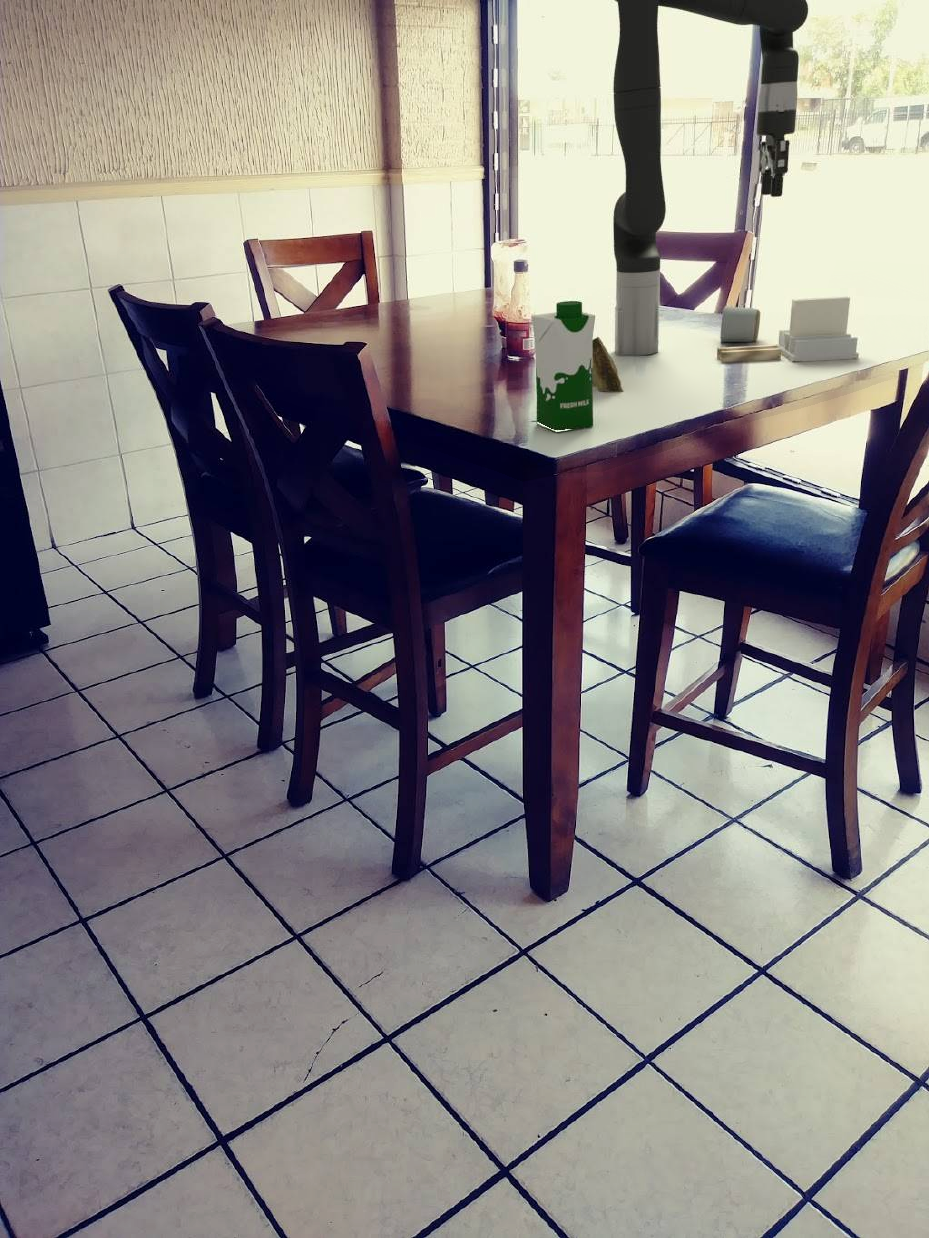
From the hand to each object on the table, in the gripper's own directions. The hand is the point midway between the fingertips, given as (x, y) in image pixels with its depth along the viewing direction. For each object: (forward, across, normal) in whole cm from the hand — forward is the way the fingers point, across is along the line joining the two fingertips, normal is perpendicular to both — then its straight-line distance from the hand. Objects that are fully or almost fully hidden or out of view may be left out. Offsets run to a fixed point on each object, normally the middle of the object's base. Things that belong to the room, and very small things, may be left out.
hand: (771, 195), depth 205 cm
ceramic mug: (+30, -4, -4) cm, 31 cm away
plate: (+29, +16, +8) cm, 34 cm away
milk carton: (+30, +64, -47) cm, 85 cm away
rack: (+30, +16, +8) cm, 35 cm away
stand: (+30, +17, -6) cm, 35 cm away
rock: (+30, +36, -38) cm, 61 cm away
